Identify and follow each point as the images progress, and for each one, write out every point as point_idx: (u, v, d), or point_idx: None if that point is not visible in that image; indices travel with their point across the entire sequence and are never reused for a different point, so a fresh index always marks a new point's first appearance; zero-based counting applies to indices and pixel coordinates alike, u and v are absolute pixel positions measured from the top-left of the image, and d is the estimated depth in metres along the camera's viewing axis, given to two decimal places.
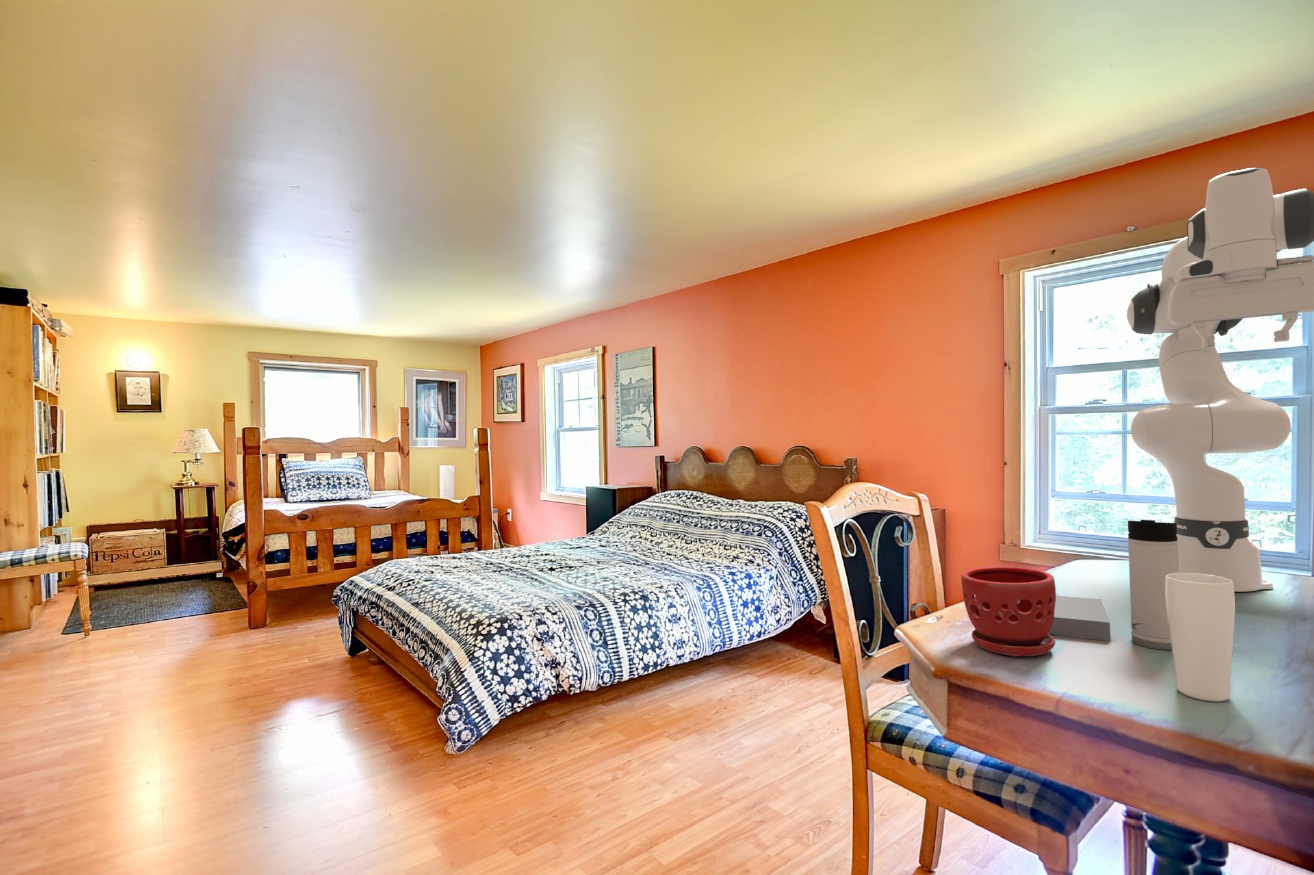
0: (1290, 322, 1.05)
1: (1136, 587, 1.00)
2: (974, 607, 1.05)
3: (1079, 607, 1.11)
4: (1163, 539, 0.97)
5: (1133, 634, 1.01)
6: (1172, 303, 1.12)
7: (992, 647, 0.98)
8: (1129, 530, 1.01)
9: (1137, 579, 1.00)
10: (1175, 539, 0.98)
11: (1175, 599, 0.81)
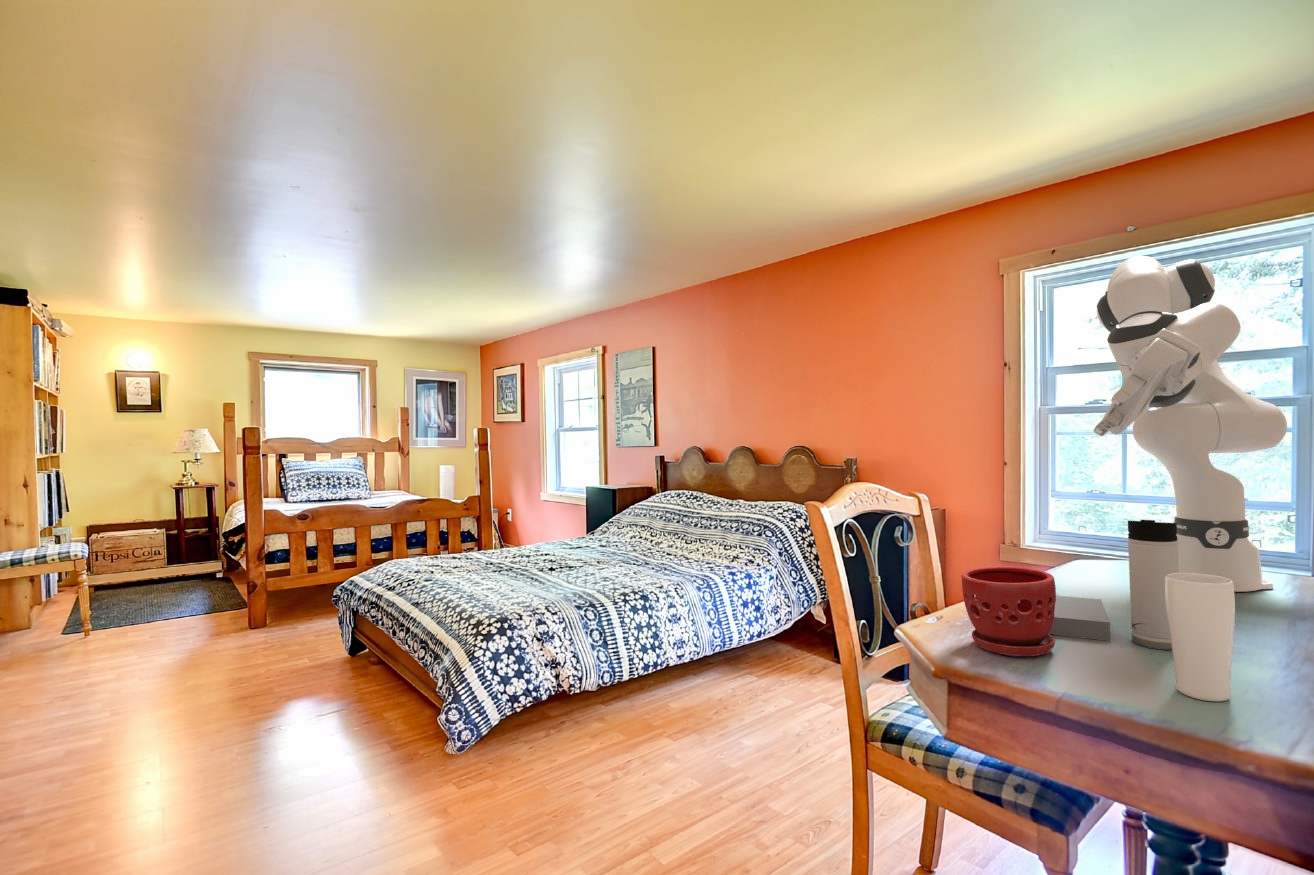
0: (1113, 428, 1.12)
1: (1135, 587, 1.00)
2: (974, 607, 1.05)
3: (1079, 607, 1.11)
4: (1163, 539, 0.97)
5: (1133, 634, 1.01)
6: (1174, 360, 1.00)
7: (992, 647, 0.98)
8: (1129, 530, 1.01)
9: (1137, 579, 1.00)
10: (1175, 539, 0.98)
11: (1175, 599, 0.81)
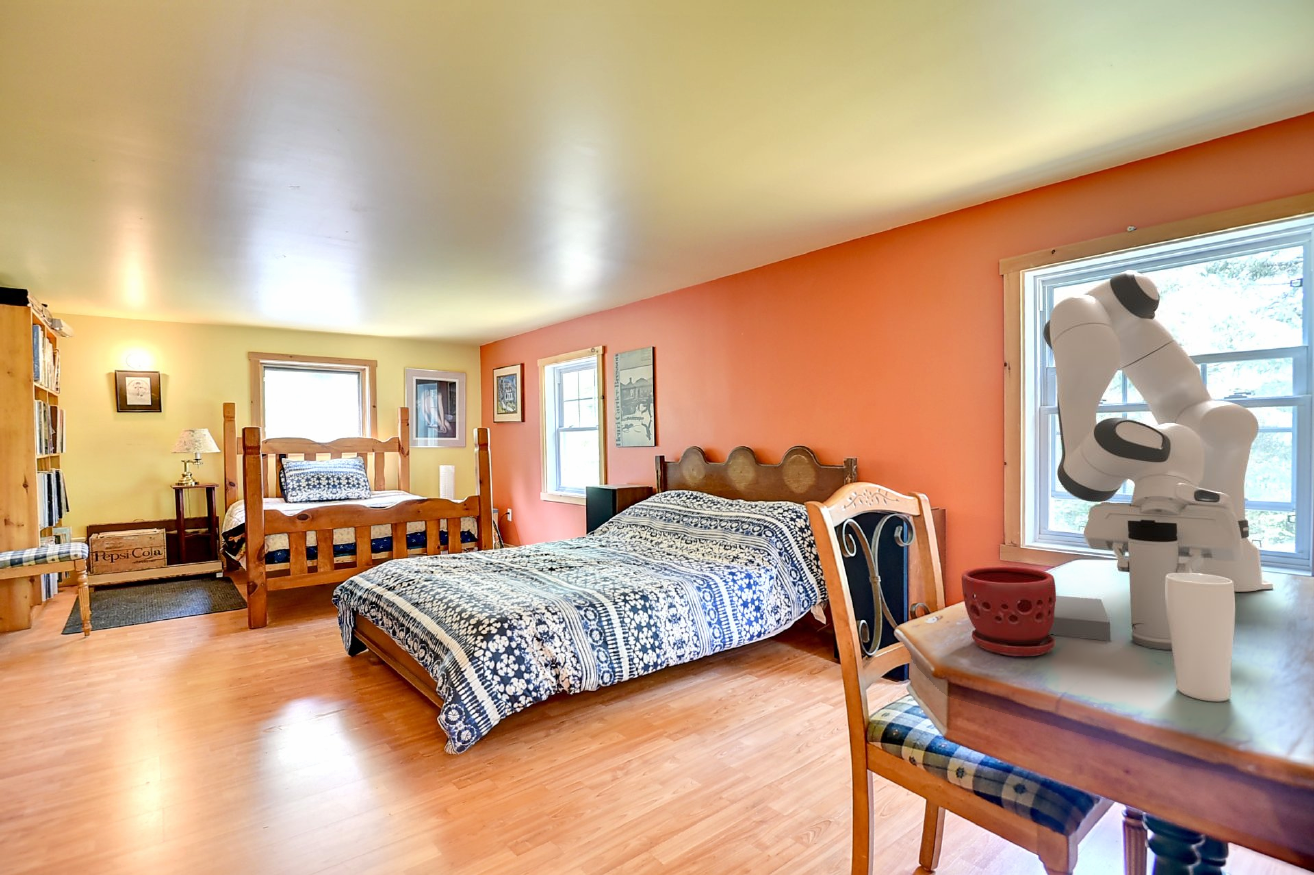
0: None
1: (1135, 587, 1.00)
2: (974, 607, 1.05)
3: (1079, 607, 1.11)
4: (1163, 539, 0.97)
5: (1133, 634, 1.01)
6: None
7: (992, 647, 0.98)
8: (1129, 530, 1.01)
9: (1137, 579, 1.00)
10: (1175, 539, 0.98)
11: (1175, 599, 0.81)
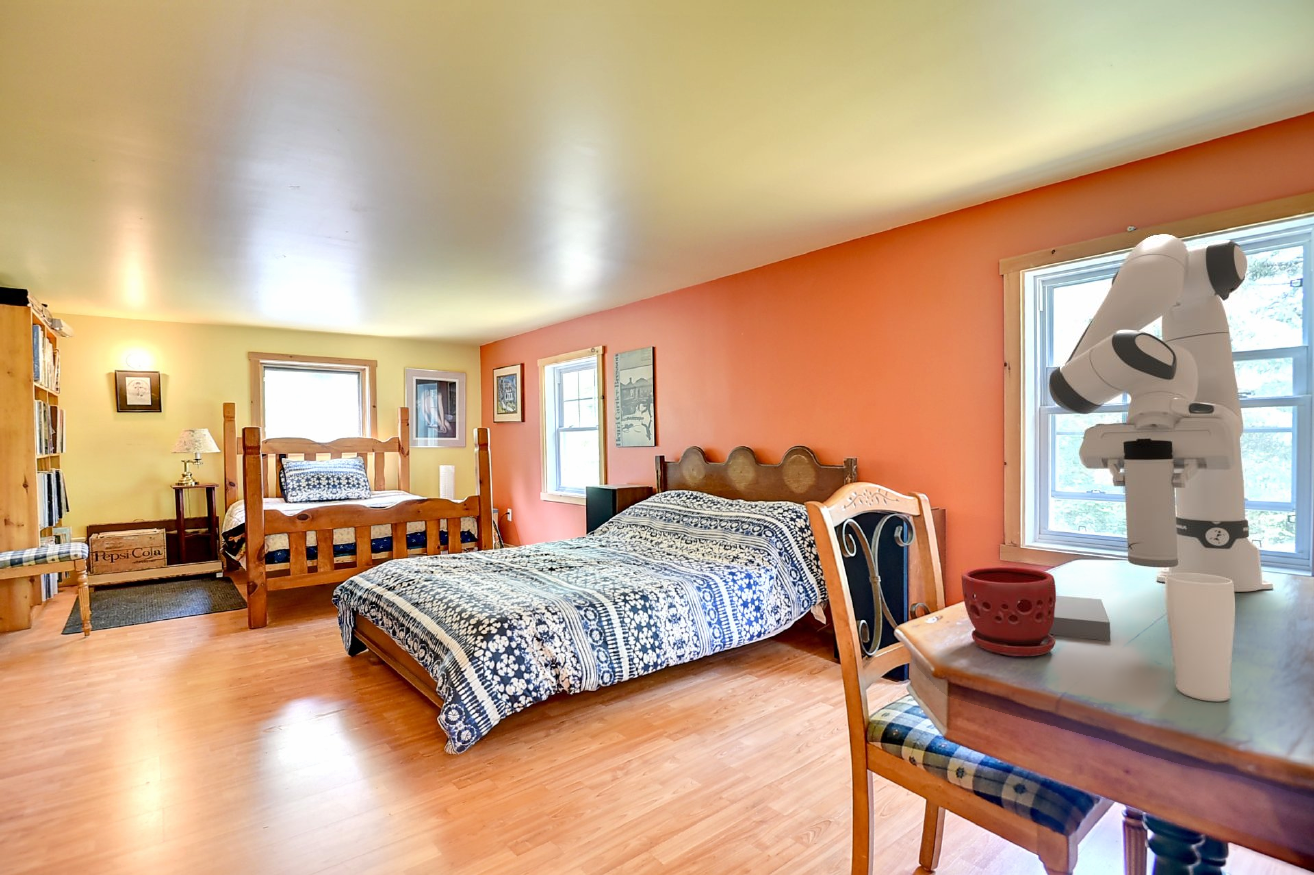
0: None
1: (1132, 507, 1.00)
2: (974, 607, 1.05)
3: (1079, 607, 1.11)
4: (1159, 456, 0.98)
5: (1129, 555, 1.01)
6: None
7: (992, 647, 0.98)
8: (1125, 451, 1.01)
9: (1133, 499, 1.00)
10: (1171, 457, 0.98)
11: (1175, 599, 0.81)
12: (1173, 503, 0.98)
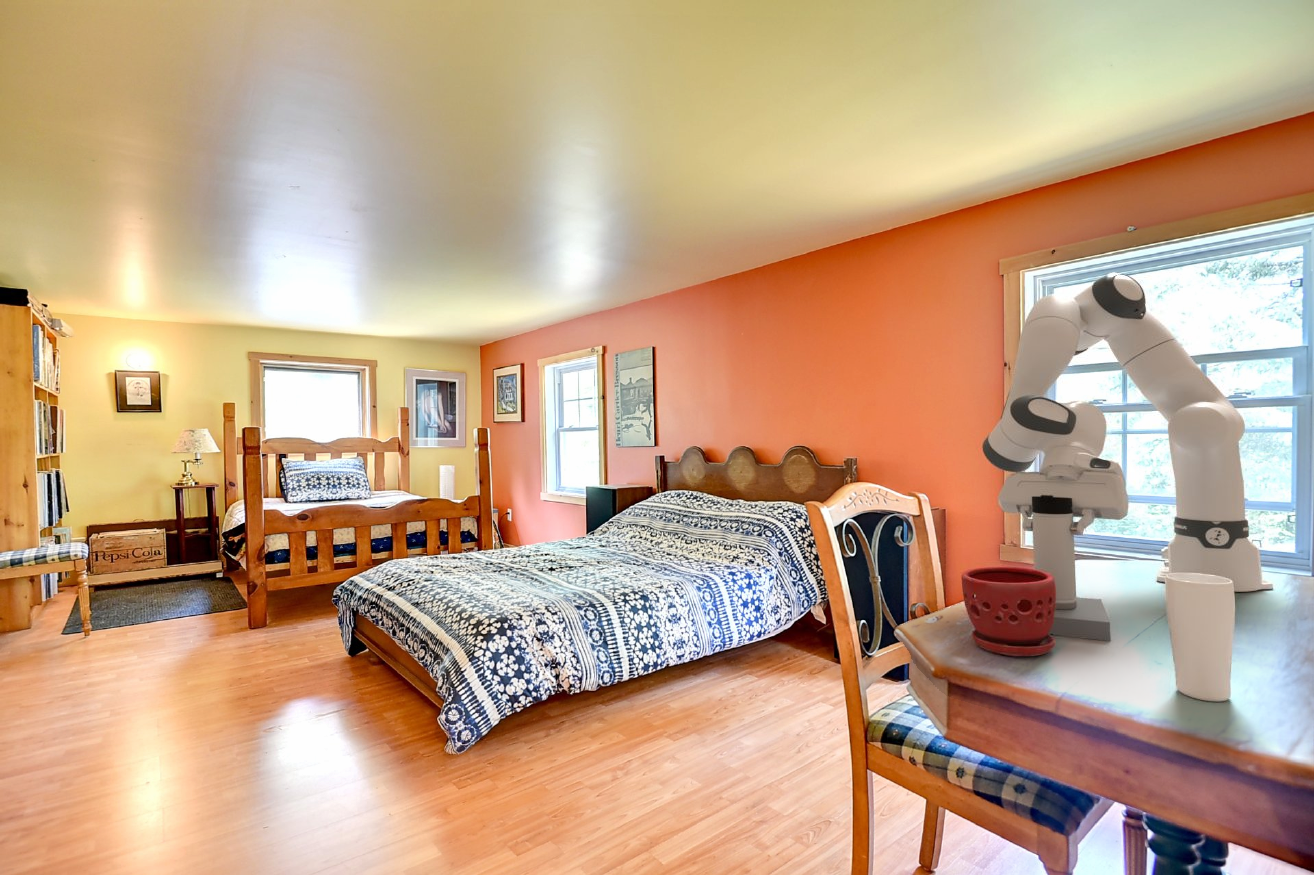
0: None
1: (1037, 555, 1.13)
2: (974, 607, 1.05)
3: (1079, 607, 1.11)
4: (1059, 511, 1.10)
5: None
6: None
7: (992, 647, 0.98)
8: (1032, 505, 1.14)
9: (1038, 548, 1.13)
10: (1070, 512, 1.11)
11: (1175, 599, 0.81)
12: (1072, 553, 1.10)
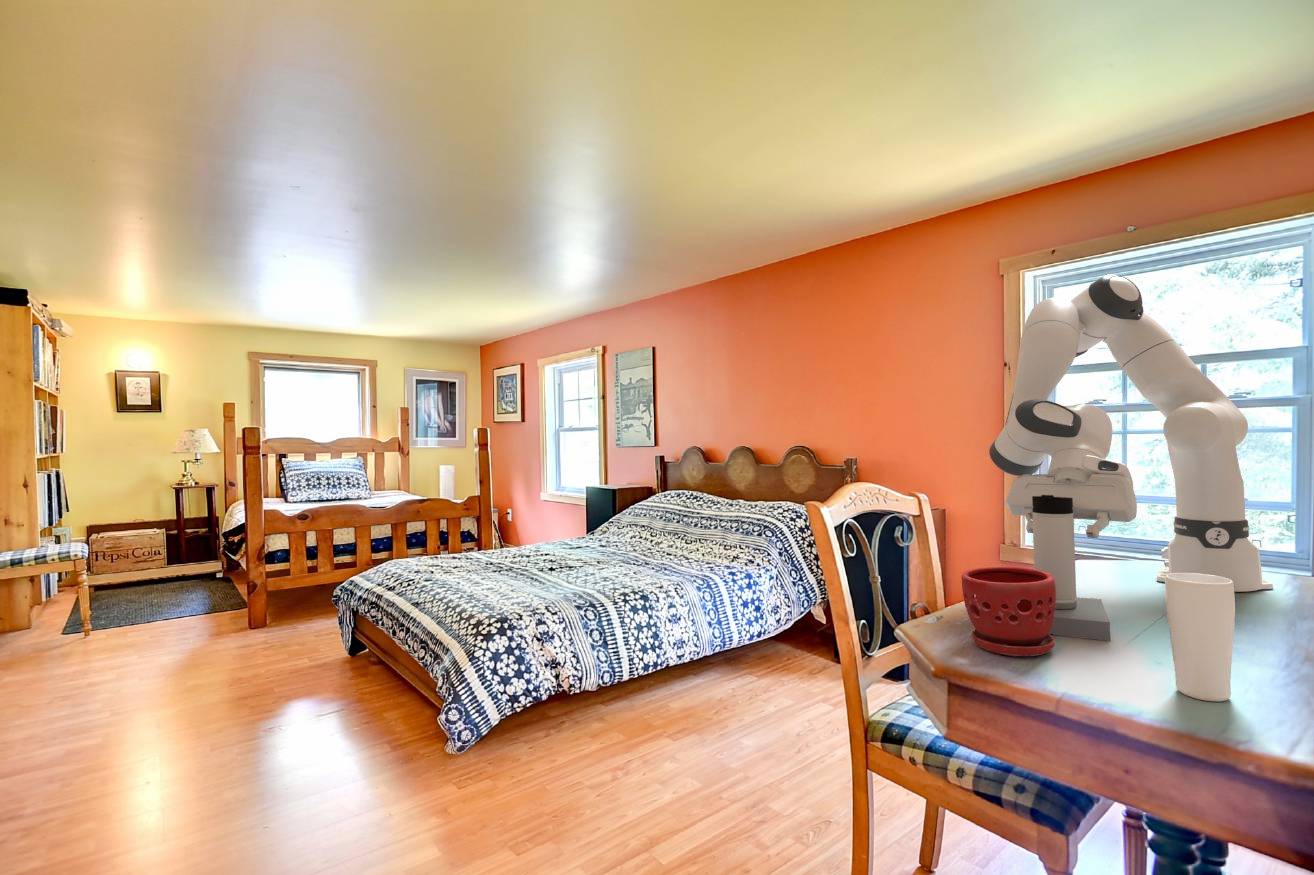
0: None
1: (1037, 555, 1.13)
2: (974, 607, 1.05)
3: (1079, 607, 1.11)
4: (1060, 511, 1.10)
5: None
6: None
7: (992, 647, 0.98)
8: (1033, 504, 1.14)
9: (1038, 548, 1.13)
10: (1070, 512, 1.11)
11: (1175, 599, 0.81)
12: (1072, 553, 1.10)
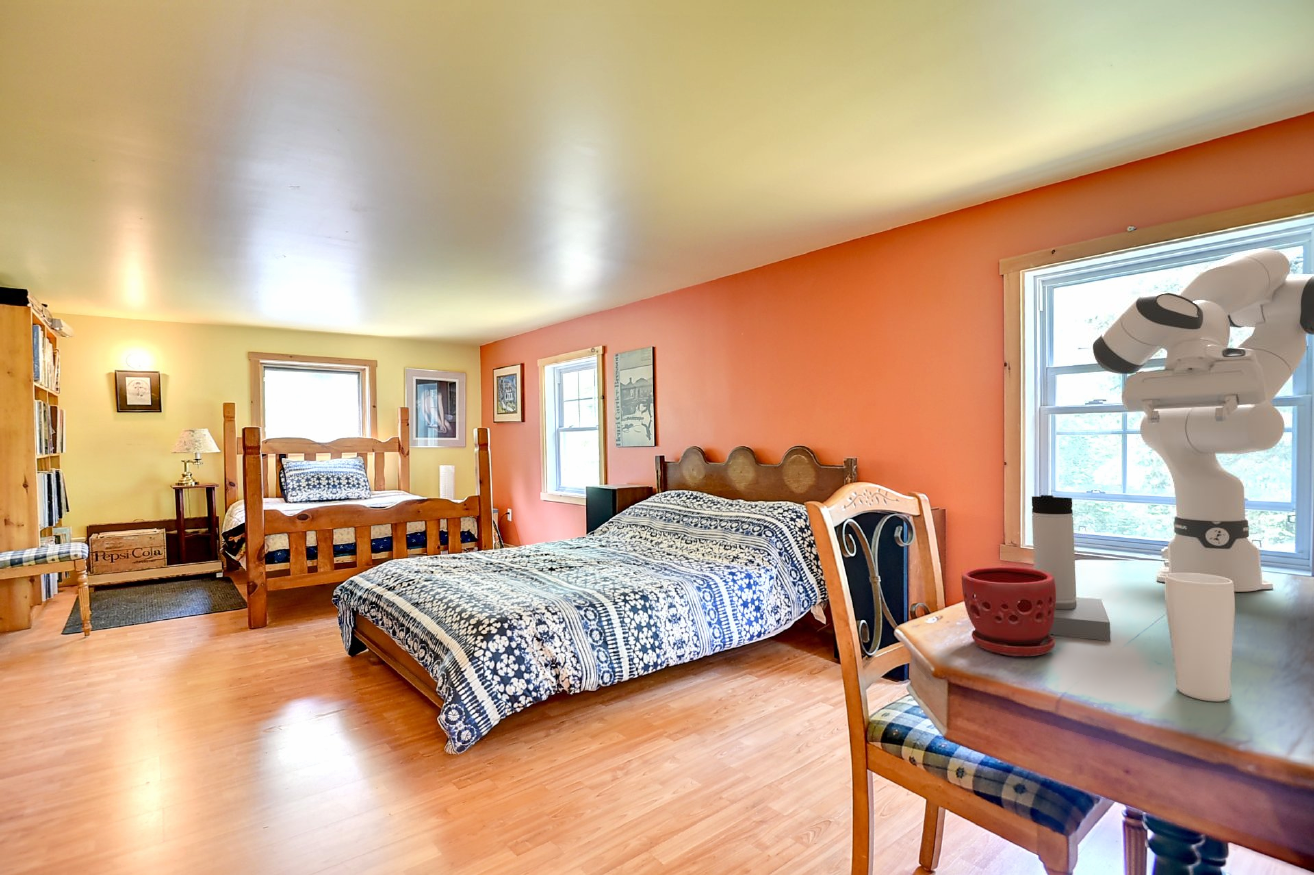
0: None
1: (1037, 555, 1.13)
2: (974, 607, 1.05)
3: (1079, 607, 1.11)
4: (1059, 511, 1.10)
5: None
6: None
7: (992, 647, 0.98)
8: (1032, 505, 1.14)
9: (1038, 548, 1.13)
10: (1070, 512, 1.11)
11: (1175, 599, 0.81)
12: (1072, 553, 1.10)
